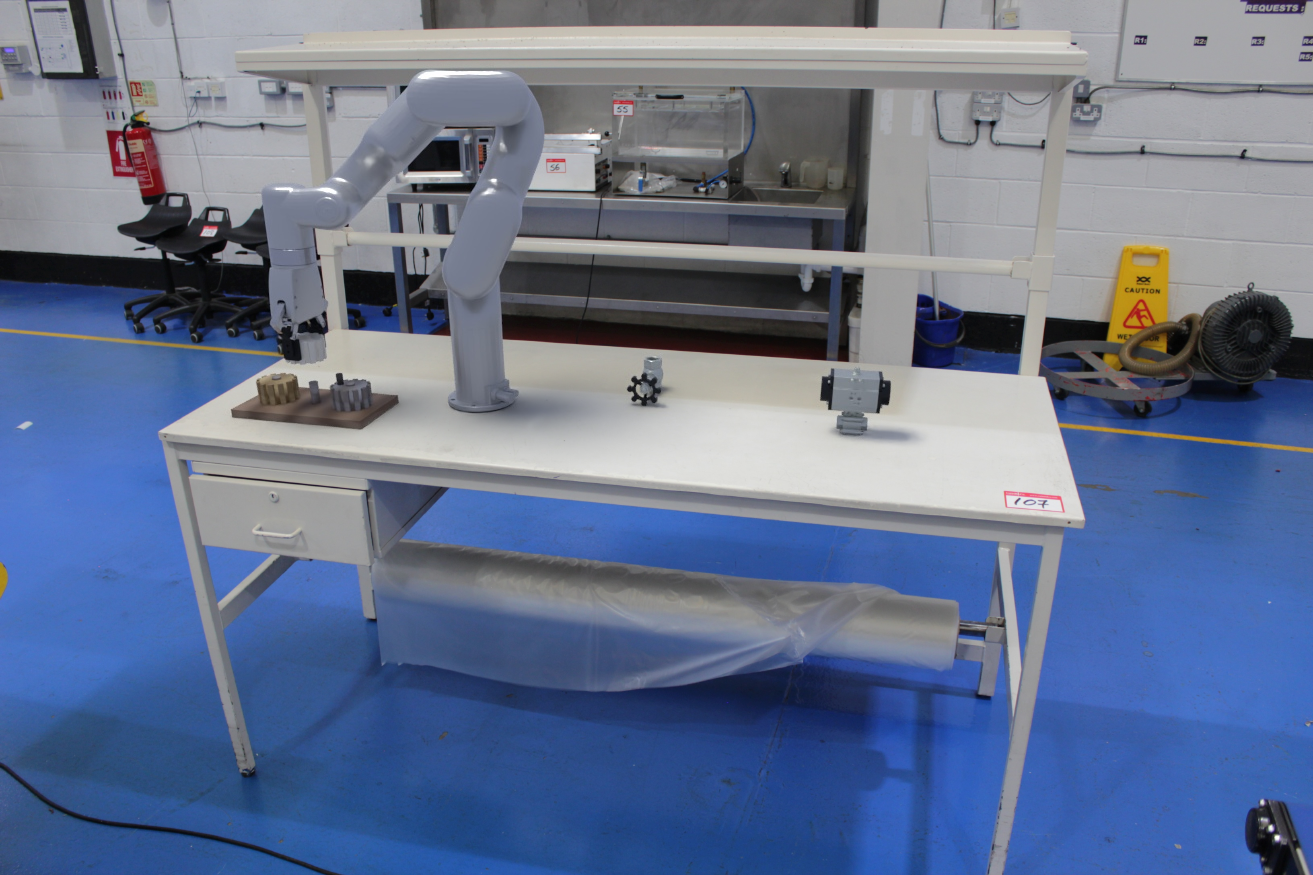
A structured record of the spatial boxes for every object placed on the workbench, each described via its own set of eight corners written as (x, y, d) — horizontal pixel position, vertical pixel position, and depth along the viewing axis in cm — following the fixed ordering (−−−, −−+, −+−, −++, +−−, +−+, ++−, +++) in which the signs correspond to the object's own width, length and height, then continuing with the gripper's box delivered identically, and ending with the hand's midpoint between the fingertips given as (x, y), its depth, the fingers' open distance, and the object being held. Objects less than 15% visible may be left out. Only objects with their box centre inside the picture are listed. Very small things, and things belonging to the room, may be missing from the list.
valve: (638, 385, 179) (626, 405, 168) (638, 354, 176) (626, 372, 165) (670, 387, 178) (660, 407, 167) (671, 356, 175) (661, 375, 164)
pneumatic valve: (817, 424, 159) (823, 361, 154) (884, 429, 157) (891, 365, 152) (817, 436, 154) (822, 371, 149) (885, 441, 152) (893, 375, 147)
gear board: (398, 402, 168) (394, 365, 166) (361, 429, 156) (355, 389, 153) (278, 392, 174) (272, 356, 171) (232, 417, 161) (224, 378, 158)
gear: (334, 357, 162) (332, 337, 160) (301, 367, 156) (298, 345, 155) (310, 350, 165) (308, 330, 164) (277, 359, 160) (274, 338, 158)
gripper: (302, 247, 162) (314, 339, 169) (242, 264, 146) (257, 366, 153) (339, 249, 161) (349, 343, 168) (282, 267, 145) (296, 370, 152)
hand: (305, 353), depth 160 cm, fingers closed on gear, 7 cm apart
